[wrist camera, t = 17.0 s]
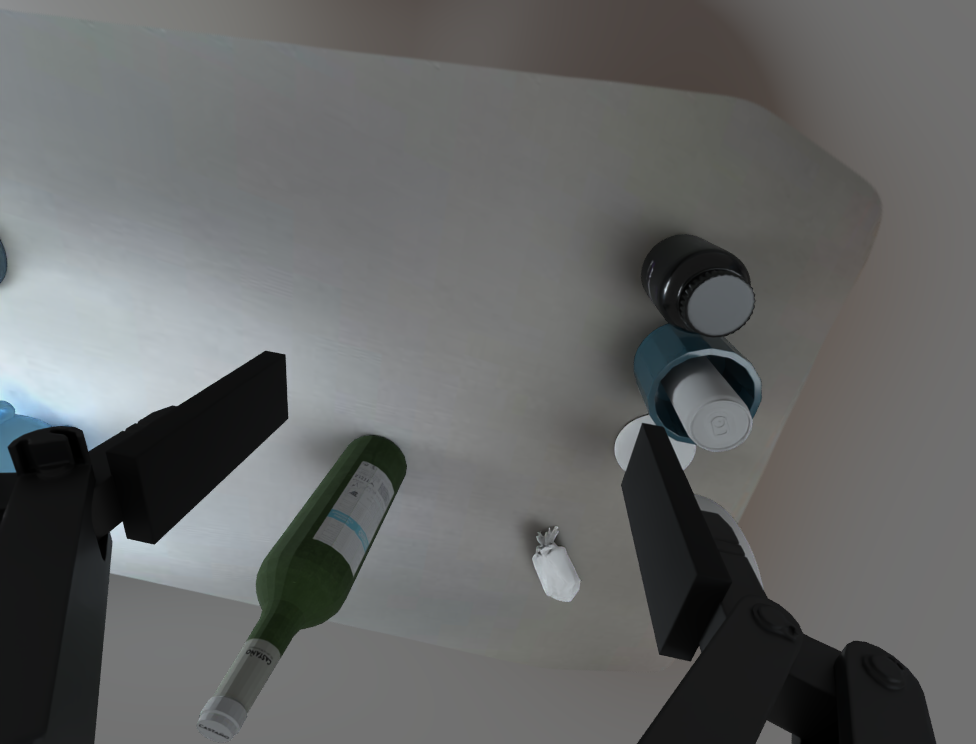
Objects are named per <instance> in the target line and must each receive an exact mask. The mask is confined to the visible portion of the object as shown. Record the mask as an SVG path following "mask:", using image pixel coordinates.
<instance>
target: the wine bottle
mask: <svg viewBox="0 0 976 744" xmlns="http://www.w3.org/2000/svg"><path fill="white" fill-rule="evenodd" d="M406 469H407V465H406V461H405V456H404V455H403V453H402V452H401V450H400V449H399V448H398V447H397V446H396V445H395V444H394V443H393V442H391V441H389V440H387V439H385V438H383V437H379V436H375V435H372V436H363V437H360V438H358V439H355V440H354V441H353V442H352V443H351V444H349V445H348V447H347V448H346V450H345V451H344V452H343V454H342V455H341V456H340V458H339V459H338V460H337V462H336V463H335V464H334V466H333V467H332V468H331V470H330V471H329V473H328V474H327V475H326V477H325V478H324V479H323V481H322V482H321V483H320V485H319V486H318V487H317V489H316V490H315V491H314V493H313V494H312V495H311V497H310V498H309V500H308V501H307V502H306V504H305V505H304V506H303V508H302V509H301V510H300V512H299V513H298V514H297V516H296V517H295V518H294V520H293V521H292V523H291V524H290V525H289V527H288V528H287V529H286V531H285V532H284V533H283V535H282V536H281V537H280V539H279V540H278V541H277V543H276V544H275V545H274V547H273V548H272V550H271V551H270V552H269V554H268V555H267V556H266V558H265V559H264V561H263V563H262V565H261V567H260V569H259V571H258V574H257V580H256V593H257V597H258V601H259V604H260V606H261V609H262V613H261V617H260V619H259V621H258V623H257V624H256V626H255V628H254V629H253V631H252V633H251V634H250V636H249V638H248V639H247V641H246V643H245V644H244V646H243V648H242V649H241V651H240V652H239V654H238V656H237V657H236V659H235V661H234V662H233V664H232V666H231V667H230V669H229V671H228V673H227V674H226V676H225V677H224V679H223V681H222V682H221V684H220V686H219V687H218V689H217V691H216V692H215V694H214V696H213V697H212V698H211V699H209V700H208V702H207V704H206V705H205V707H204V708H203V710H202V711H201V713H200V715H199V718H200V719H199V721H198V723H197V729H198V731H199V732H200V733H201V734H202V735H203V736H205V737H206V738H207V739H210V740H212V741H215V742H221V743H224V742H229V741H230V740H231V739H232V738H233V736H234V735H236V734H237V733H238V732H239V730H240V729H241V727H242V725H243V723H244V721H245V720H246V718H247V713H248V711H249V710H250V708H251V706H252V705H253V703H254V701H255V700H256V698H257V696H258V695H259V693H260V691H261V690H262V688H263V686H264V685H265V683H266V681H267V680H268V678H269V676H270V675H271V673H272V671H273V670H274V668H275V666H276V665H277V663H278V661H279V660H280V658H281V656H282V655H283V653H284V651H285V650H286V648H287V646H288V645H289V643H290V641H291V640H292V638H293V636H294V635H295V634H296V633H297V632H298V631H299V630H301V629H305V628H309V627H313V626H316V625H319V624H322V623H323V622H325V621H326V620H328V619H329V618H331V617H332V616H333V615H335V614H336V613H337V612H338V611H339V609H340V608H341V607H342V605H343V603H344V601H345V600H346V598H347V596H348V594H349V592H350V589H351V587H352V585H353V583H354V581H355V579H356V577H357V575H358V573H359V571H360V569H361V567H362V564H363V562H364V560H365V558H366V556H367V554H368V552H369V550H370V548H371V546H372V544H373V542H374V539H375V537H376V535H377V533H378V531H379V529H380V527H381V525H382V523H383V521H384V519H385V517H386V514H387V512H388V510H389V508H390V506H391V504H392V502H393V500H394V498H395V496H396V494H397V492H398V489H399V487H400V485H401V483H402V481H403V479H404V477H405V475H406Z"/></svg>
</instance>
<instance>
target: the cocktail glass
mask: <svg viewBox="0 0 976 744" xmlns="http://www.w3.org/2000/svg"><path fill="white" fill-rule="evenodd" d="M6 267H7V262H6V255H5V251H4V248H3V245H2V242H1V240H0V283H1V282H2V280H3V278H4V276H5V273H6Z"/></svg>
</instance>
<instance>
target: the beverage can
mask: <svg viewBox="0 0 976 744" xmlns="http://www.w3.org/2000/svg"><path fill="white" fill-rule="evenodd" d="M661 383H662V385H663V387H664V389H665V391H666V393H667V395H668V397H669V399H670V401H671V403H672V405H673V407H674V409H675V411H676V413H677V414H678V416H679V418H680V420H681V422H682V424H683V426H684V428H685V430H686V432H687V434H688V436H689V437H690V438H691V439H692V440H693V441H694V442H695V443H696V444H697V445H698V446H699V447H701V448H703V449H705V450H708V451H713V452H721V451H728V450H730V449H733V448H735V447H737V446H739V445H740V444H742V443H743V442H744V441H745V440H746V439H747V438H748V436H749V434H750V433H751V430H752V426H753V423H752V417H751V414H750V412H749V409H748V407H747V405H746V404H745V403H744V402H743V401H742V399H741V398H740V397H739V396H738V395H737V393H736V392H735V391H734V390H733V389H732V387H731V386H730V385H729V384H728V383H727V381H726V380H725V379H724V378H723V377H722V375H721V374H720V373H719V372H718V371H717V369H716V368H715V367H714V366H713V365H712V363H711V362H710V361H709V360H708V359H707V357H706V356H700V357H694V358H690V359H688V360H686V361H684V362H682V363H680V364H679V365H677V366H675V367H673V368H672V369H671V370H670V371H669V372H668V373H667V374H666V376H665V377H664V378H663V379H662V380H661Z"/></svg>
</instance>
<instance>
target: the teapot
mask: <svg viewBox="0 0 976 744" xmlns="http://www.w3.org/2000/svg"><path fill="white" fill-rule="evenodd" d="M48 427H52V426H50V425H49V424H47V423H45V422H43V421H41V420H38V419H35V418H32V417H28V416H23V415H17V414H15V409H14V407H13V406H12V405H11V404H10V403H8V402H6V401H0V473H9V472H16V470H15V467H14V465H13V462H12V459H11V456H10V453H9V451H8V448H7V447H8V446H9V445H10V443H11V442H12V441H13V440H15V439H17V438H18V437H20V436H22V435H24V434H27V433H29V432H32V431H35V430H38V429H43V428H48ZM69 427H72V426H69Z"/></svg>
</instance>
